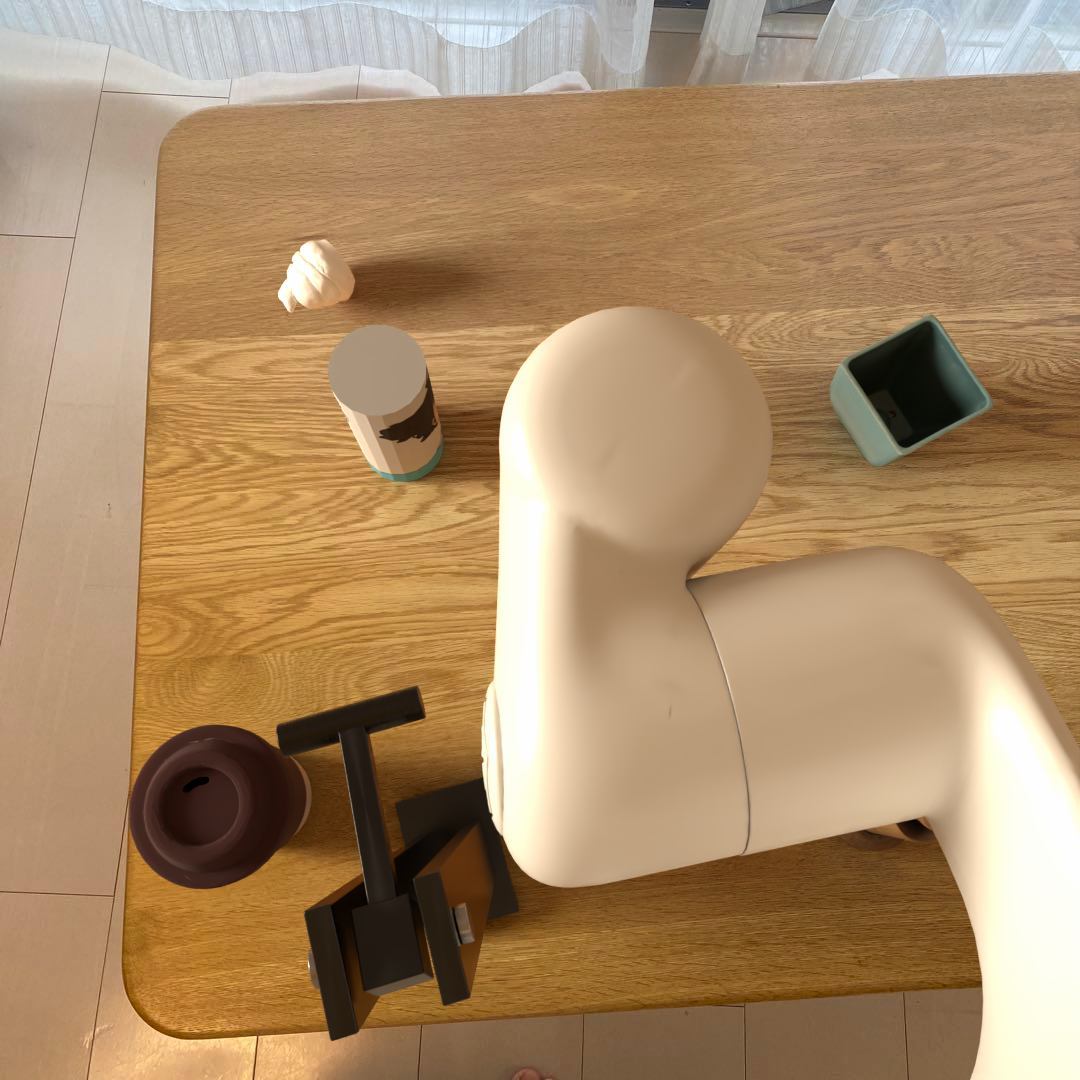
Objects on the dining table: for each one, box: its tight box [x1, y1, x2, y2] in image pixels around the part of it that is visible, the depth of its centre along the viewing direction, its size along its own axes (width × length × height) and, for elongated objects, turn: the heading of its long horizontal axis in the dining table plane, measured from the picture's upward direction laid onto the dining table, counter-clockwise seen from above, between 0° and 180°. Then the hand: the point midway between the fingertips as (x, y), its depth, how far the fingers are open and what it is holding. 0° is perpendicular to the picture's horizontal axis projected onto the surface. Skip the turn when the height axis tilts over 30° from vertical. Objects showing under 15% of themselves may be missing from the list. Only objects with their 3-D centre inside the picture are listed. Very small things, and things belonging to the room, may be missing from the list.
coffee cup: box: [128, 724, 313, 890], centre depth 64 cm, size 10×10×15 cm
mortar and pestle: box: [835, 817, 938, 852], centre depth 63 cm, size 7×6×18 cm
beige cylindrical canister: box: [327, 324, 445, 483], centre depth 71 cm, size 7×7×15 cm
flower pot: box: [828, 313, 996, 468], centre depth 75 cm, size 9×9×9 cm
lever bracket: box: [303, 776, 520, 1042], centre depth 52 cm, size 10×7×39 cm
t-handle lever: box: [275, 684, 435, 997], centre depth 37 cm, size 11×6×2 cm, turn 16°
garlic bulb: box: [277, 239, 356, 314], centre depth 79 cm, size 6×6×5 cm
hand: (574, 599), depth 53 cm, fingers open, 9 cm apart
